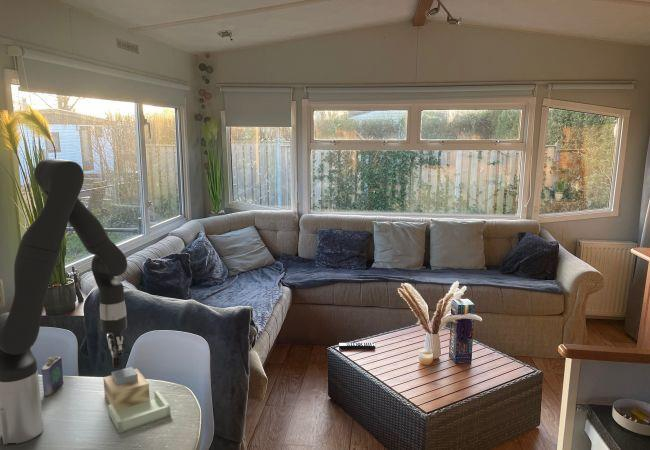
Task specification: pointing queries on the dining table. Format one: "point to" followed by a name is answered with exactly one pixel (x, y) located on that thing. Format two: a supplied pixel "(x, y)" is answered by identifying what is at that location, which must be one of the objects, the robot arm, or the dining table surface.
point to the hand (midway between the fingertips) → (117, 366)
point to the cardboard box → (126, 392)
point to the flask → (52, 375)
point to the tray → (140, 413)
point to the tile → (124, 376)
